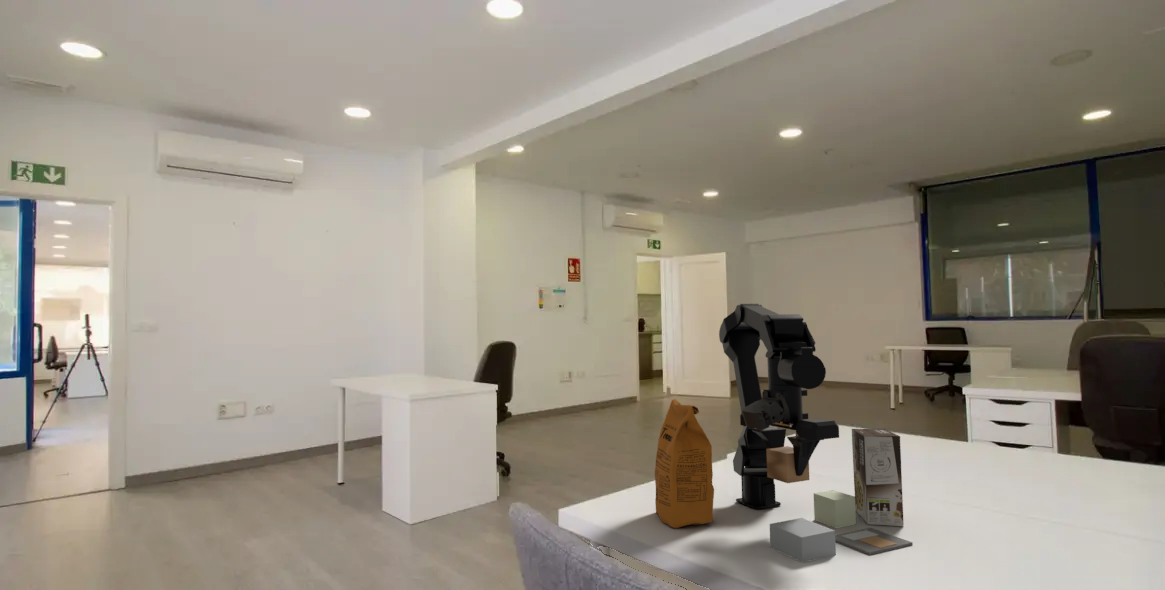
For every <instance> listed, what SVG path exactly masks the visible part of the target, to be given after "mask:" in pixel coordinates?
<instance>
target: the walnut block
mask: <svg viewBox="0 0 1165 590" xmlns="http://www.w3.org/2000/svg"><path fill="white" fill-rule="evenodd" d="M766 451H767V477H769V478H772V479H774V481H775V480H776V481H780V482H782V483H785V484H791V483H798V482H805V481H810V463H809V462H810V461H809V462H808V464H807V466H806V468H805V470H804V473H803V475H802V476H797V475H796V471H795V464H794V451H793V446H788V445H787V446H784V447H777V448H769V449H766Z"/></svg>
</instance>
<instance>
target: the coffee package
mask: <svg viewBox="0 0 1165 590" xmlns="http://www.w3.org/2000/svg"><path fill="white" fill-rule="evenodd" d="M699 413H700V410H699V408H698V407H697V406H695V405H691V404H690V405H689V404H681V403H680V402H679V401H678V400H677V399H676V398H675V399H672V400H671V402H670V404H669V407H668V410H667V413H666V414H665V419H664V421H663V423H662V426H661V429H660V432H659V437H658V442H657V449H656V454H655V466H654V482H655V513H656V514H657V515H658V517H659V518H660V519H659V520H661V522H662V523H663V524H666V525H668V526H670V527H671V528H673V529H674V528H675V529H679V528H681V527H685V526H690V525H704V524H705V525H706V524H707V523H712V522H713V521H714V497H715V488H714V485H713V475H714V473H713V459H712V458H713V454H712V453H713V452H712V451H713V447H712V444H711V442H710V439H709V438H708V436H707V434H706V433H705V431H704V429H703V428H702V426H701V425H700V423H699V422H698V421H699V420H698V419H697V417H696V415H698V414H699Z"/></svg>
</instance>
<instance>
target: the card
mask: <svg viewBox="0 0 1165 590" xmlns="http://www.w3.org/2000/svg"><path fill="white" fill-rule="evenodd" d="M835 542H836V543H838V544H840V545H843V546H846V547H849V548H851V549H853V550H855V551H858V552H861V553H864V554H866V555H868V556H871V555H876V554H880V553H886V552H889V551H893V550H897V549H901V548H906V547H910V546H913V543H914V542H913V541H909V540H907V539H904V538H900V537H898V536H895V535H893V534H889V533H886V532H884V531H881V530H877V529H875V528H872V527H868V528H864V529H859V530H854V531H848V532H845V533H839V534H835Z"/></svg>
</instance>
